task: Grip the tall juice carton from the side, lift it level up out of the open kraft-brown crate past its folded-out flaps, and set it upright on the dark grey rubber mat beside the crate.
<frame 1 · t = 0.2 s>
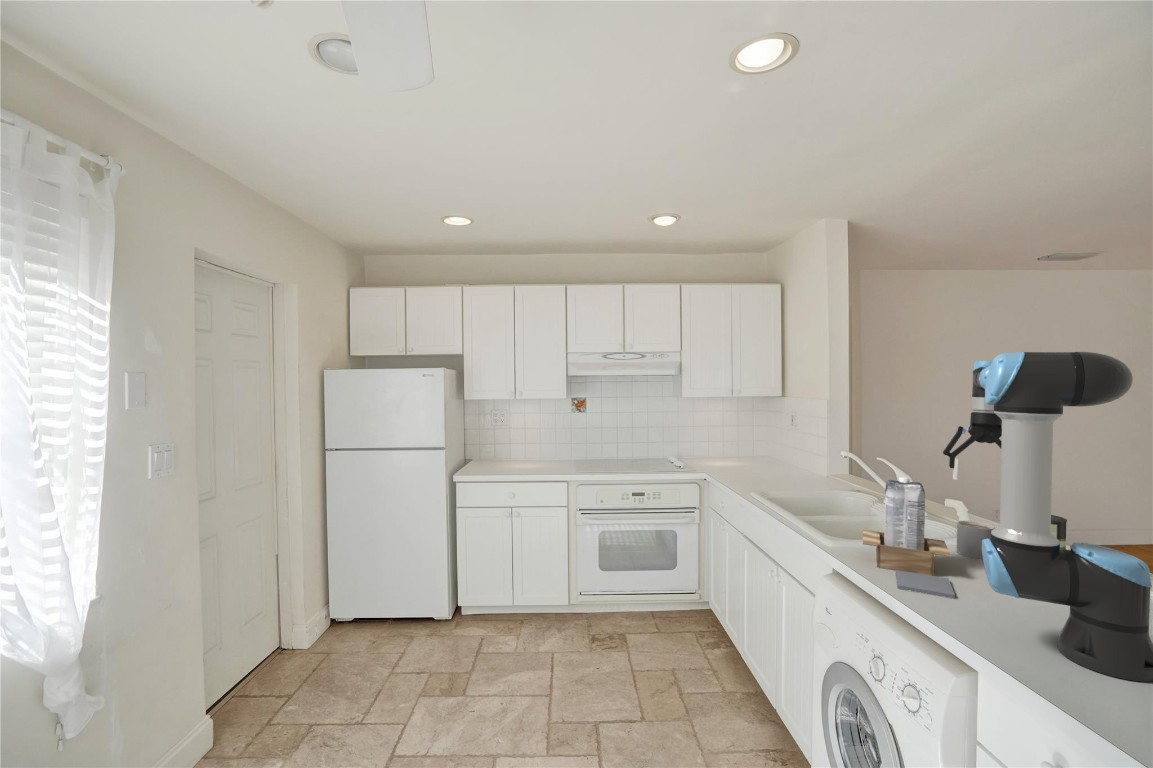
hand: (982, 482, 158), 27 cm above the worktop, tool pointing down, fingers open, 13 cm apart
coffee can: (1044, 560, 170), on the worktop
juice carton: (903, 564, 166), resting in crate
crate: (903, 563, 166), on the worktop
mat: (923, 585, 149), on the worktop
coffee mug: (981, 556, 174), on the worktop
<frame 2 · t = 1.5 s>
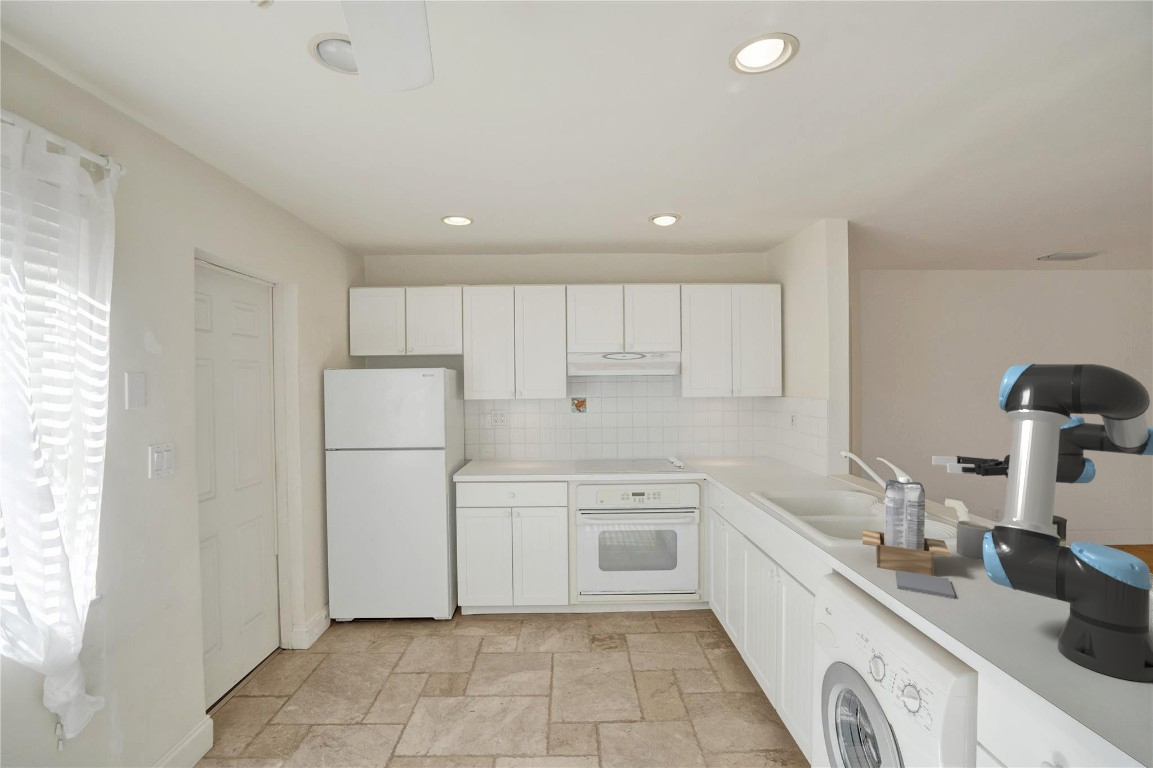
hand: (939, 464, 162), 32 cm above the worktop, tool horizontal, fingers open, 13 cm apart
nothing on the worktop moved.
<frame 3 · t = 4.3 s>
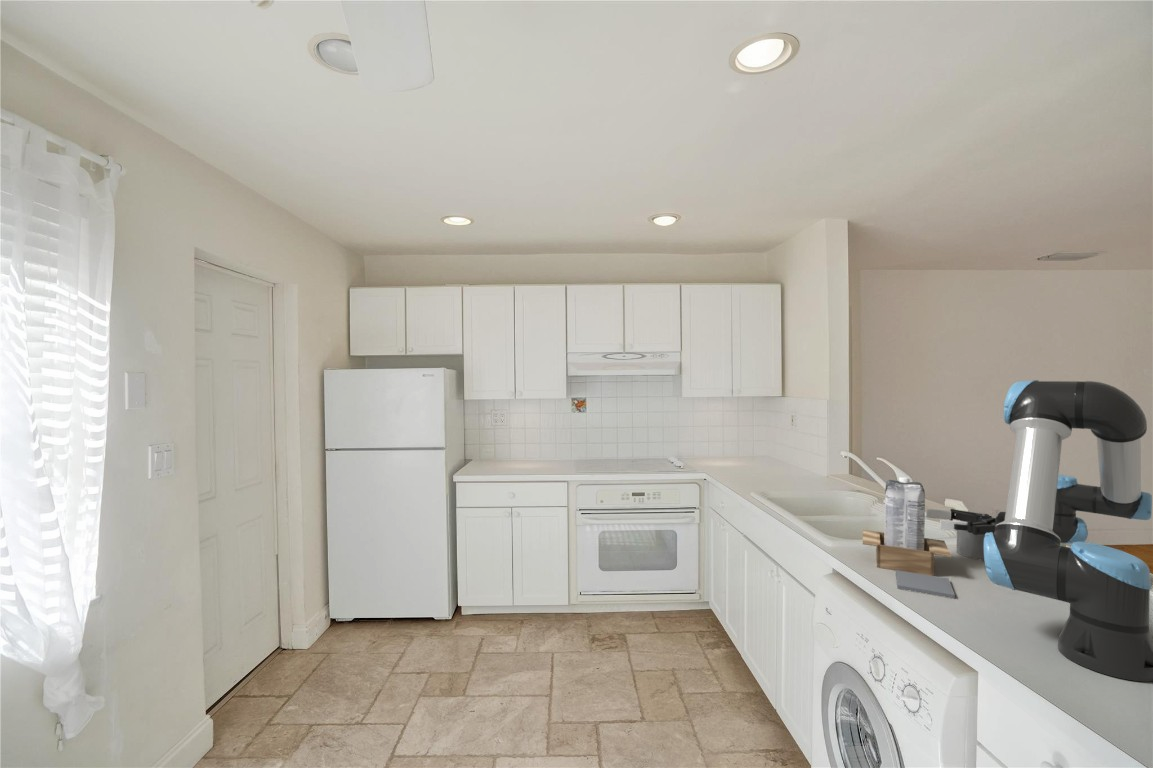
hand: (933, 518, 163), 15 cm above the worktop, tool horizontal, fingers open, 13 cm apart
nothing on the worktop moved.
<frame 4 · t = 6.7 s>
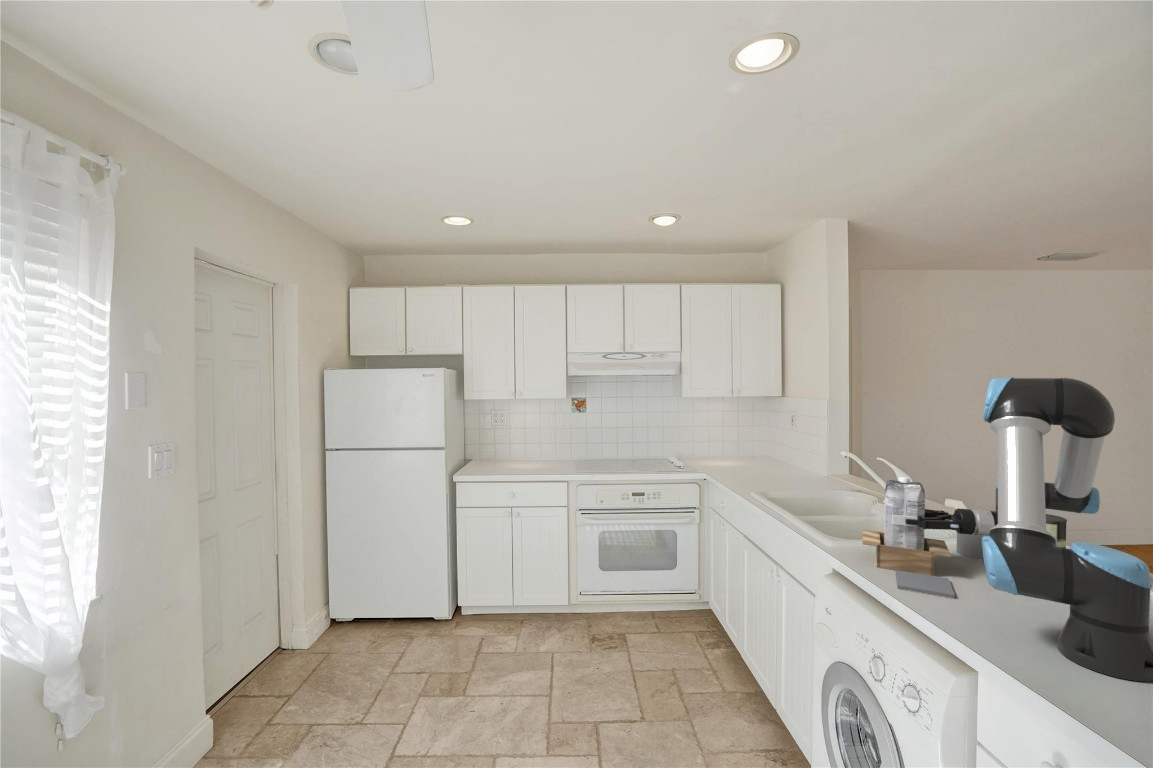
hand: (888, 515, 167), 15 cm above the worktop, tool horizontal, fingers closed on juice carton, 10 cm apart
juice carton: (903, 564, 166), resting in crate, touching gripper
everything else where it was.
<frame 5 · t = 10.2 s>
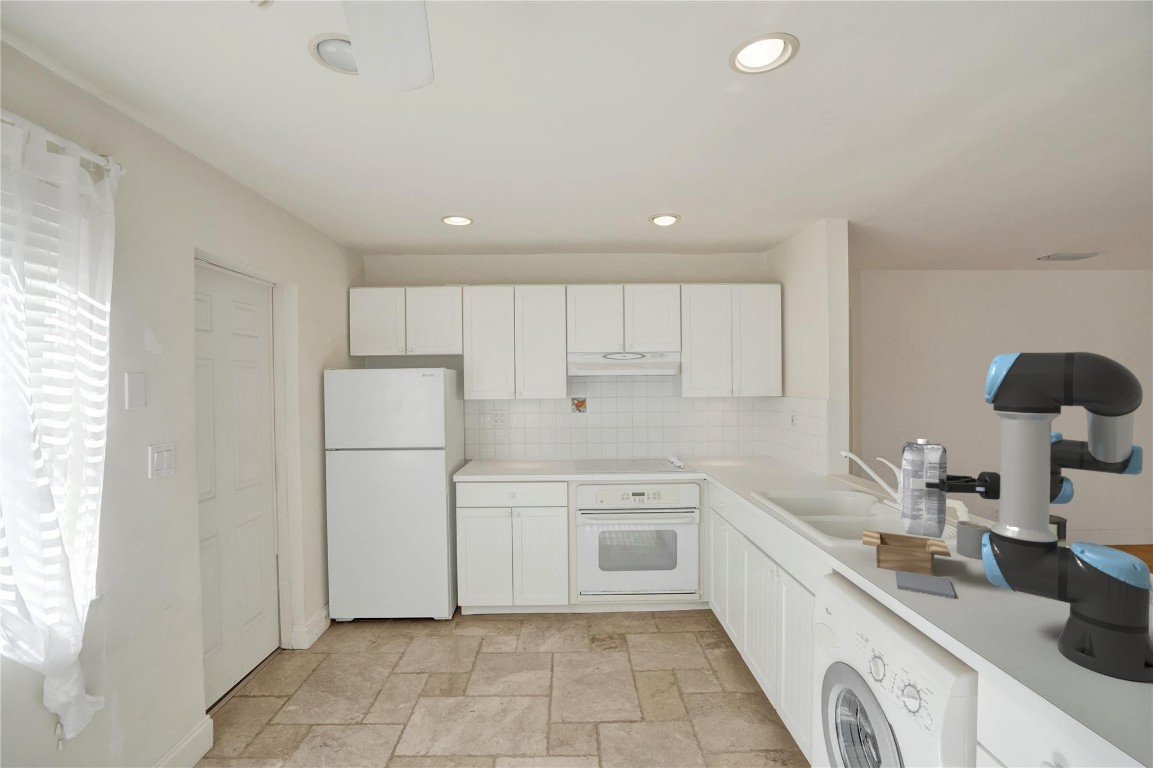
hand: (905, 480, 152), 29 cm above the worktop, tool horizontal, fingers closed on juice carton, 10 cm apart
juice carton: (922, 533, 151), point 14 cm above the worktop, touching gripper
everything else where it was.
when the fingers open (17 cm above the worktop, at t = 13.8 s): juice carton drops 1 cm, resting on mat.
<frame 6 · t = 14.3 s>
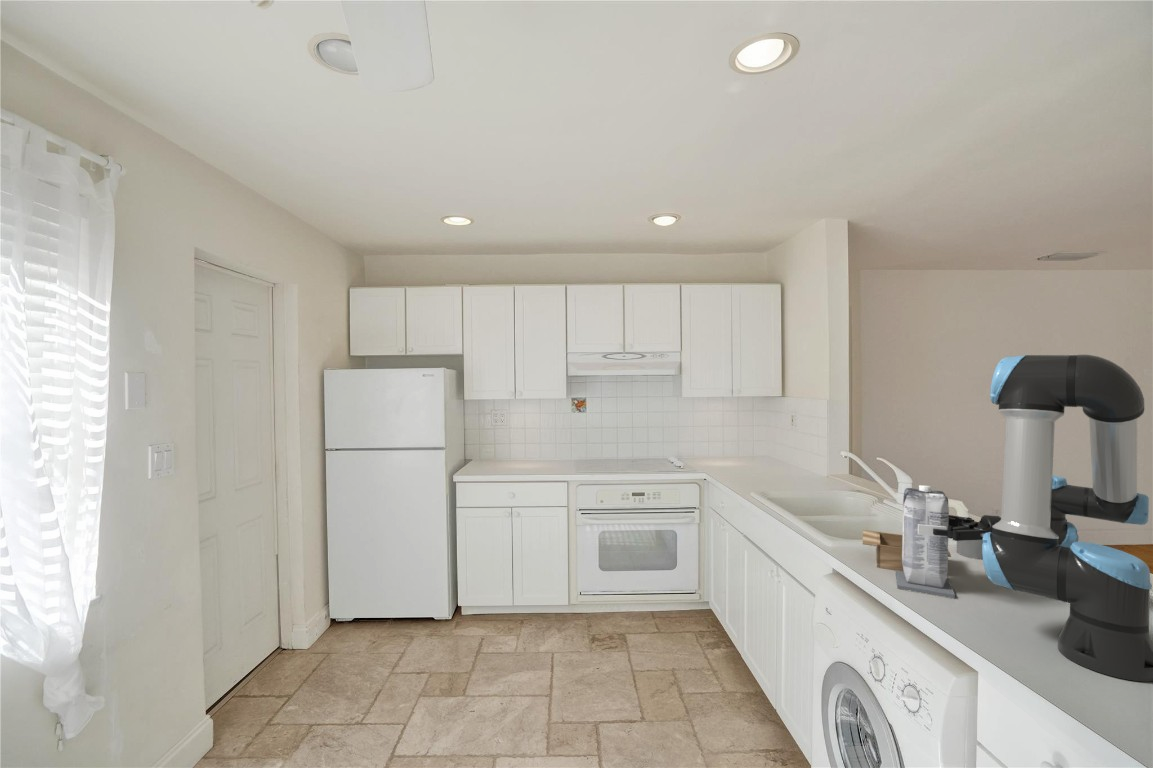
hand: (911, 522, 149), 17 cm above the worktop, tool horizontal, fingers open, 13 cm apart
juice carton: (923, 582, 149), point 1 cm above the worktop, touching mat
everything else where it was.
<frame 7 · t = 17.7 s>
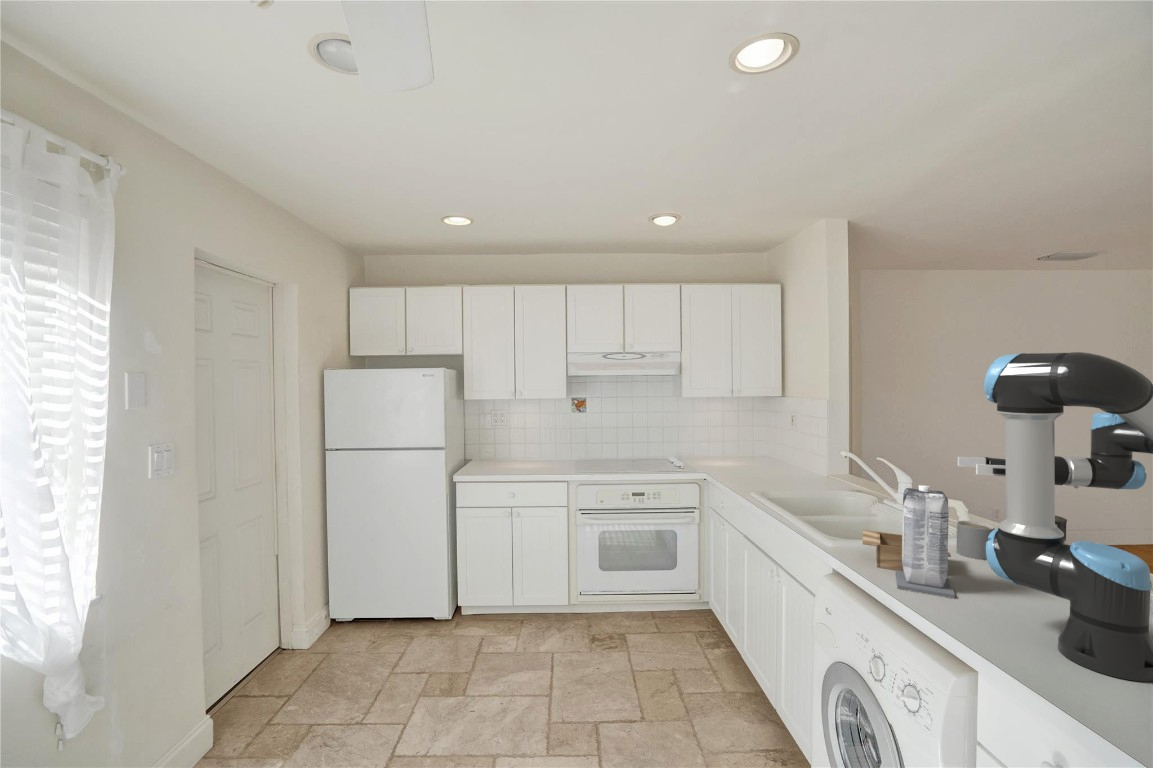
hand: (966, 465, 145), 35 cm above the worktop, tool horizontal, fingers open, 13 cm apart
nothing on the worktop moved.
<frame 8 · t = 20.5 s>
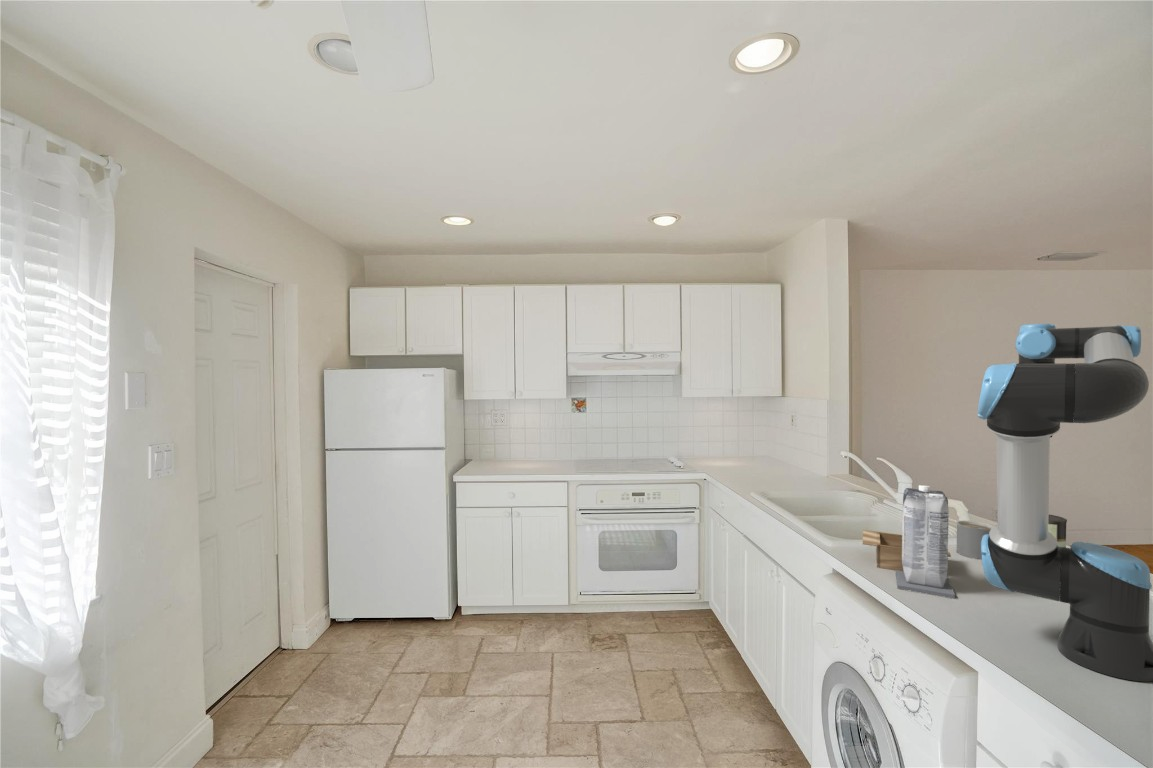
hand: (1034, 460, 142), 37 cm above the worktop, tool pointing down, fingers open, 13 cm apart
nothing on the worktop moved.
at the end: juice carton inside the target area (0.1 cm from its centre), point 0.8 cm above the worktop; juice carton tilted 0°; the gripper is holding nothing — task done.
